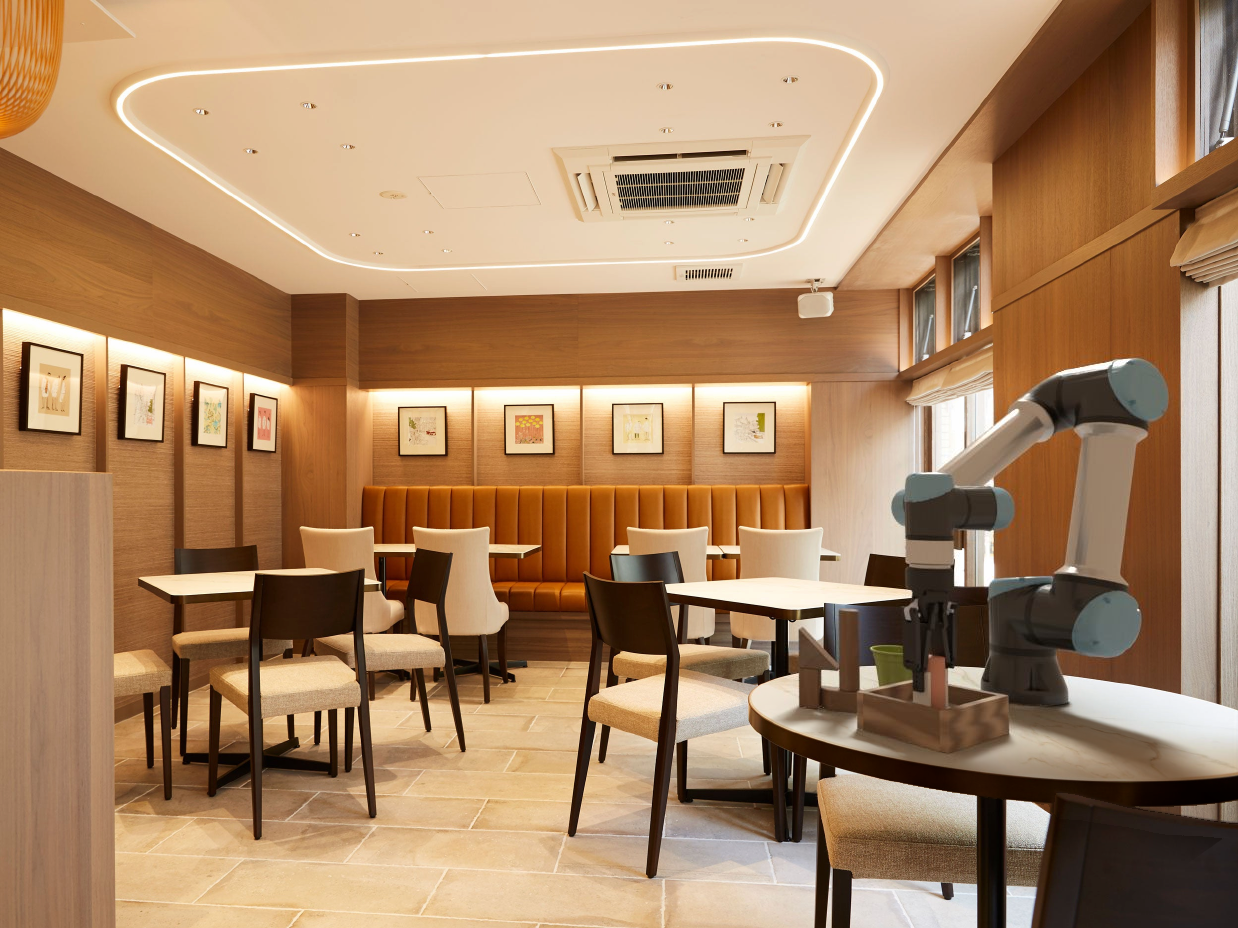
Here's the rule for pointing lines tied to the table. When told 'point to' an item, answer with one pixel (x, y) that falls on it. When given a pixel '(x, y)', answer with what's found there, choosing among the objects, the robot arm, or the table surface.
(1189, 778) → the table surface
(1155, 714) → the table surface
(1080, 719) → the table surface
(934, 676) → the peg
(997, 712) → the box
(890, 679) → the plant pot
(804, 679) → the brown wooden stacked blocks
